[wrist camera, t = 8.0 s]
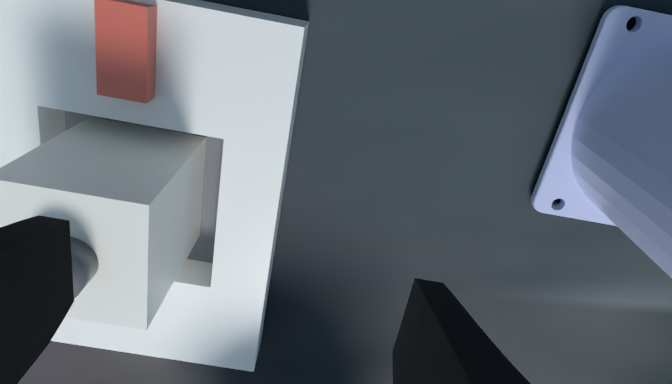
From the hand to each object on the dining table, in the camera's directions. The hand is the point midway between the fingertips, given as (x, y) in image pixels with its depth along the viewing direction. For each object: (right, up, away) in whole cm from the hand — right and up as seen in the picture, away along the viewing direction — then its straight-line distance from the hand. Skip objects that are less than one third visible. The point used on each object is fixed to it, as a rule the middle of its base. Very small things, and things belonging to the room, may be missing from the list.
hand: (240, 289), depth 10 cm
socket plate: (-6, +2, +10) cm, 12 cm away
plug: (-6, +3, +10) cm, 11 cm away
